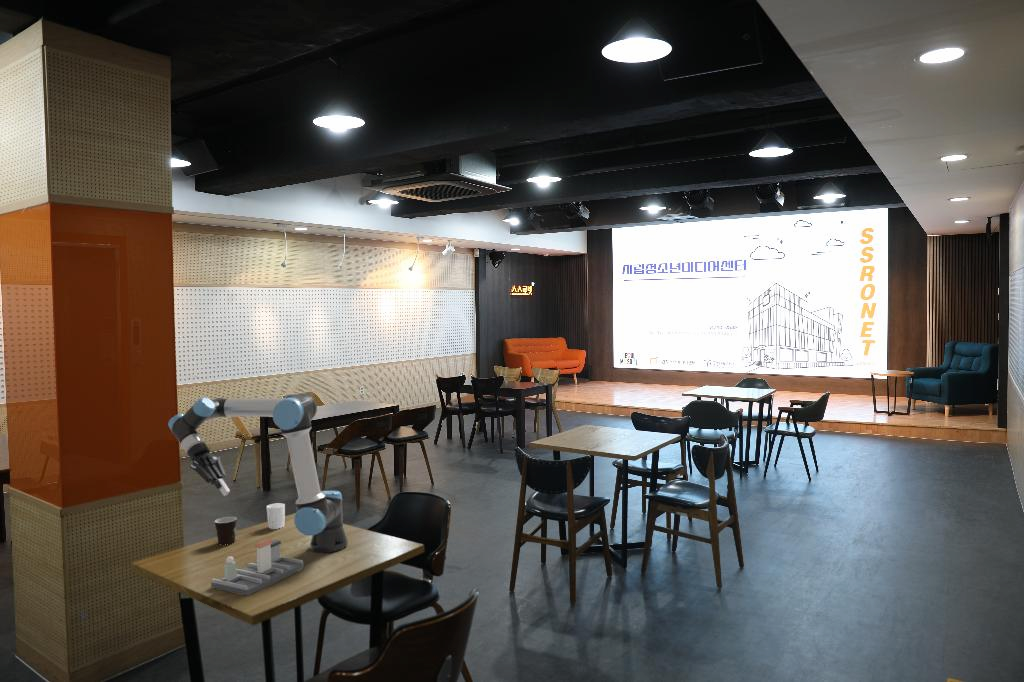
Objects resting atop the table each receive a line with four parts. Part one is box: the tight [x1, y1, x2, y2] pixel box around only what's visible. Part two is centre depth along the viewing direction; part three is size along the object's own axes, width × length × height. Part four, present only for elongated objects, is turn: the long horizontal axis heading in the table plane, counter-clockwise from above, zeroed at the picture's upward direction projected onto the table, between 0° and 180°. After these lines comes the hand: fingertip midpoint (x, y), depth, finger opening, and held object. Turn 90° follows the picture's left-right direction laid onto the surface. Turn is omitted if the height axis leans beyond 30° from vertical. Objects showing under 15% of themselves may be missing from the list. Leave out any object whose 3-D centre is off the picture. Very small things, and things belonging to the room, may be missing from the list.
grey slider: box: [270, 539, 282, 563], centre depth 264 cm, size 4×6×7 cm
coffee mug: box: [214, 516, 237, 546], centre depth 295 cm, size 12×9×10 cm
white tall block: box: [254, 538, 274, 575], centre depth 252 cm, size 4×6×12 cm
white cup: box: [266, 502, 286, 530], centre depth 314 cm, size 8×8×10 cm
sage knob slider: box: [221, 555, 241, 582], centre depth 246 cm, size 4×5×8 cm
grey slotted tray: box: [210, 555, 305, 597], centre depth 254 cm, size 18×27×3 cm, turn 153°
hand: (227, 493), depth 267 cm, fingers closed
